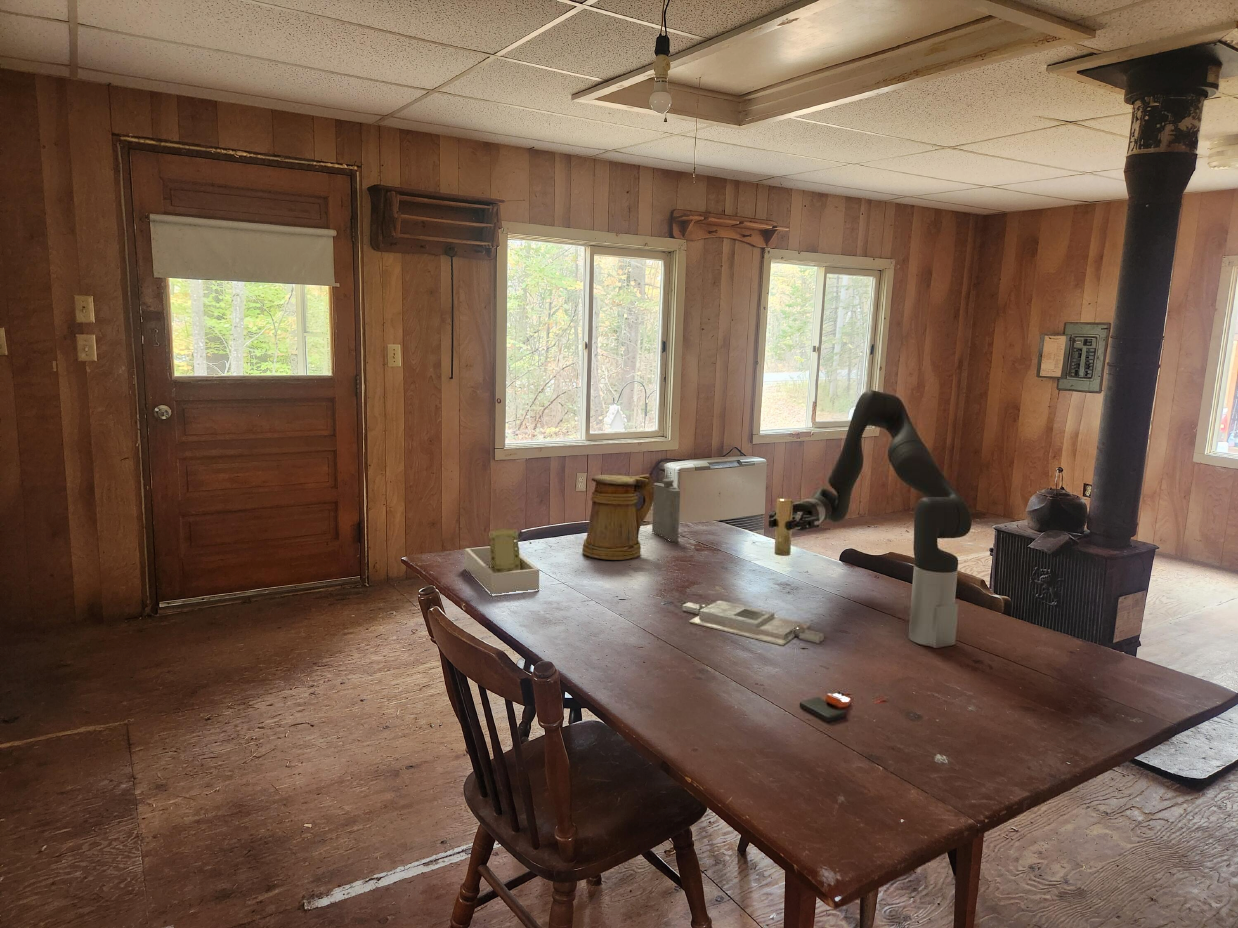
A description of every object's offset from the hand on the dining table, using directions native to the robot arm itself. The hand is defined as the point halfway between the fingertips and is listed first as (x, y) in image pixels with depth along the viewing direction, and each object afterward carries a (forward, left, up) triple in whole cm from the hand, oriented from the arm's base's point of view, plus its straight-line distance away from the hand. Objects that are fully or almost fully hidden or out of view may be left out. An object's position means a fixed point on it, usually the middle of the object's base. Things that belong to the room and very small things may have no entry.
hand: (779, 524), depth 201 cm
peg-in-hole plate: (-7, +13, -22) cm, 26 cm away
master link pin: (+1, -2, -8) cm, 8 cm away
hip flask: (+79, -10, -22) cm, 82 cm away
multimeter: (-49, +20, -22) cm, 58 cm away
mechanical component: (+47, +56, -22) cm, 76 cm away
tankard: (+64, +15, -22) cm, 69 cm away
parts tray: (+49, +58, -22) cm, 78 cm away
